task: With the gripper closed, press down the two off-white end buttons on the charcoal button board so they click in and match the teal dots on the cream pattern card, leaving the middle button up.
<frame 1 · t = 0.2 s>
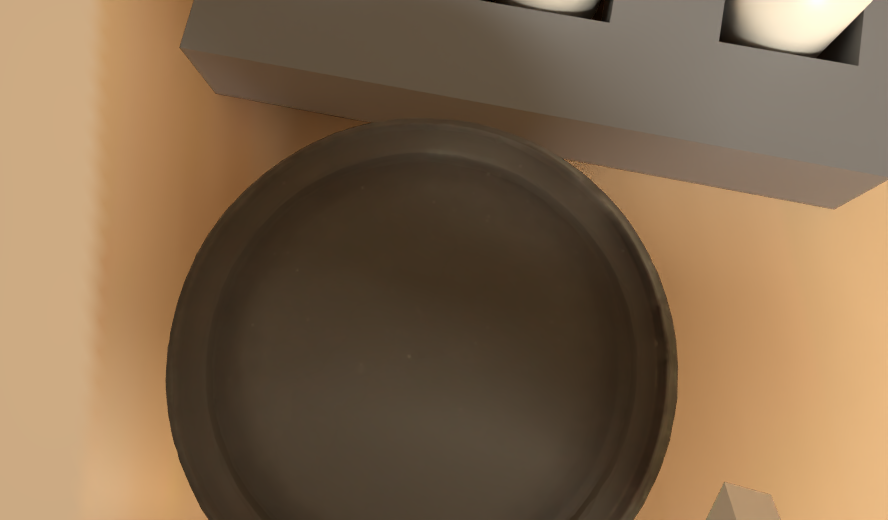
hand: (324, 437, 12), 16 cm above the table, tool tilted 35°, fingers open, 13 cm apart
coffee can: (442, 384, 28), on the table
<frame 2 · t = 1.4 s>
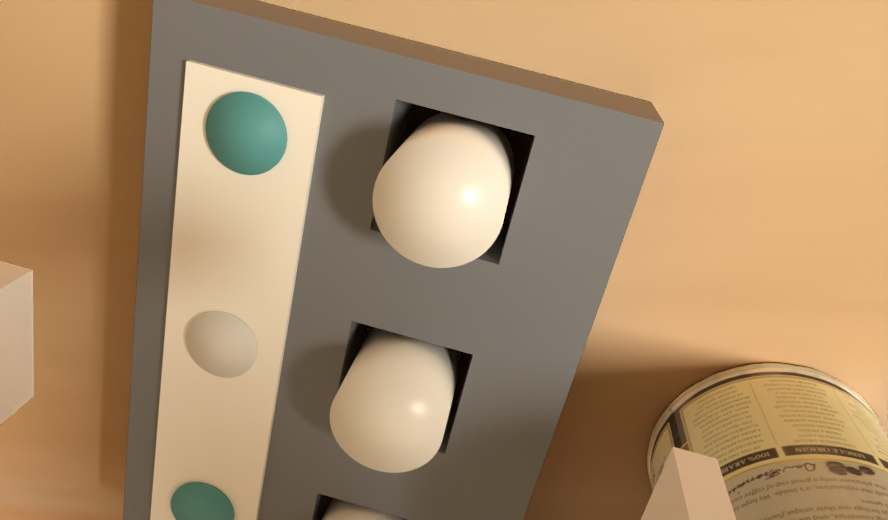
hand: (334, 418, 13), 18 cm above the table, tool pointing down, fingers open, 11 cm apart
coffee can: (761, 455, 33), on the table
middle button: (399, 389, 30), point 4 cm above the table, slide at 0.0 cm
button board: (365, 327, 33), on the table
end button 1: (448, 184, 26), point 4 cm above the table, slide at 0.0 cm
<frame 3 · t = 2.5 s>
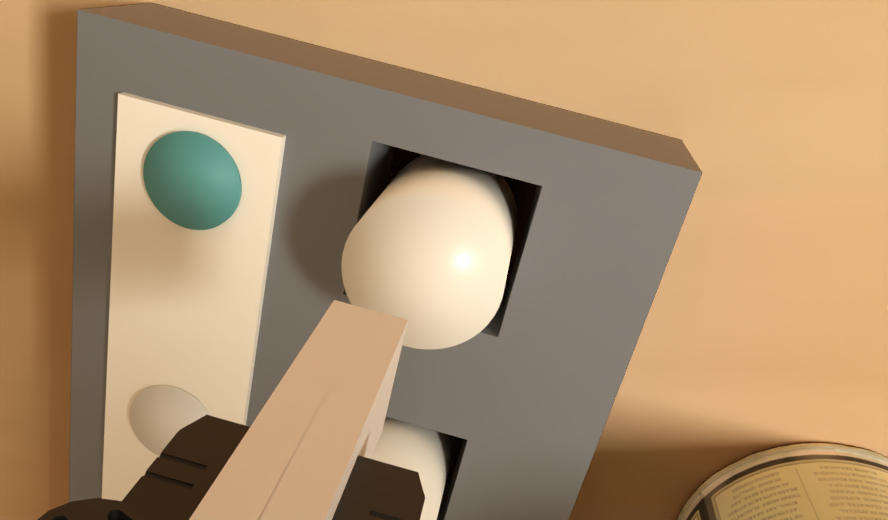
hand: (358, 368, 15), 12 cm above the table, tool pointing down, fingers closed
middle button: (381, 477, 25), point 4 cm above the table, slide at 0.0 cm
button board: (344, 394, 29), on the table
end button 1: (437, 243, 21), point 4 cm above the table, slide at 0.0 cm
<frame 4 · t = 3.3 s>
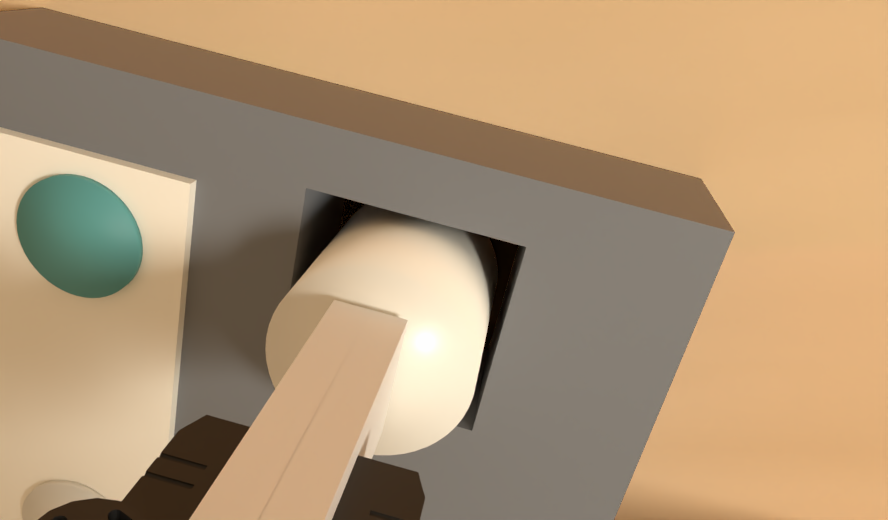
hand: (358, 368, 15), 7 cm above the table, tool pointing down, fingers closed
button board: (295, 473, 24), on the table
end button 1: (395, 311, 17), point 4 cm above the table, slide at 0.2 cm, touching gripper
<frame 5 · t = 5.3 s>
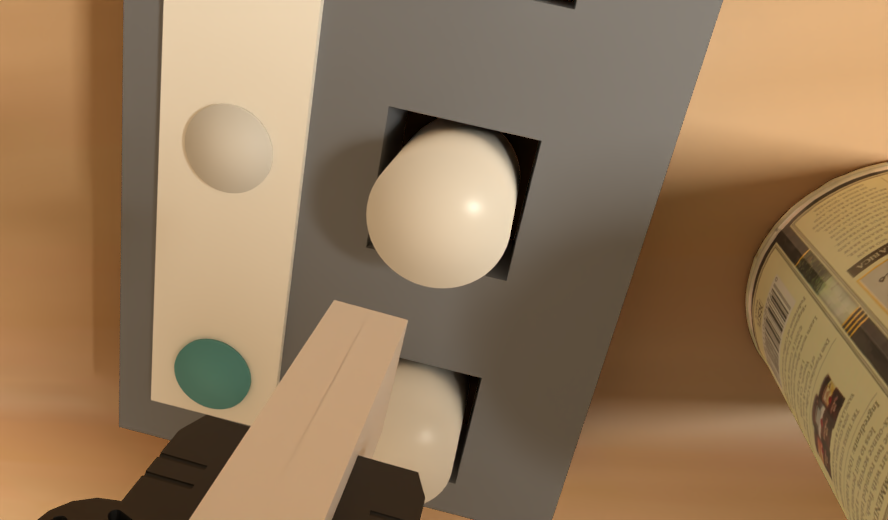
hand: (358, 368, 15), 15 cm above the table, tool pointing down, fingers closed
coffee can: (886, 287, 27), on the table
middle button: (449, 196, 24), point 4 cm above the table, slide at 0.0 cm
button board: (401, 150, 28), on the table
end button 2: (404, 416, 28), point 4 cm above the table, slide at 0.0 cm
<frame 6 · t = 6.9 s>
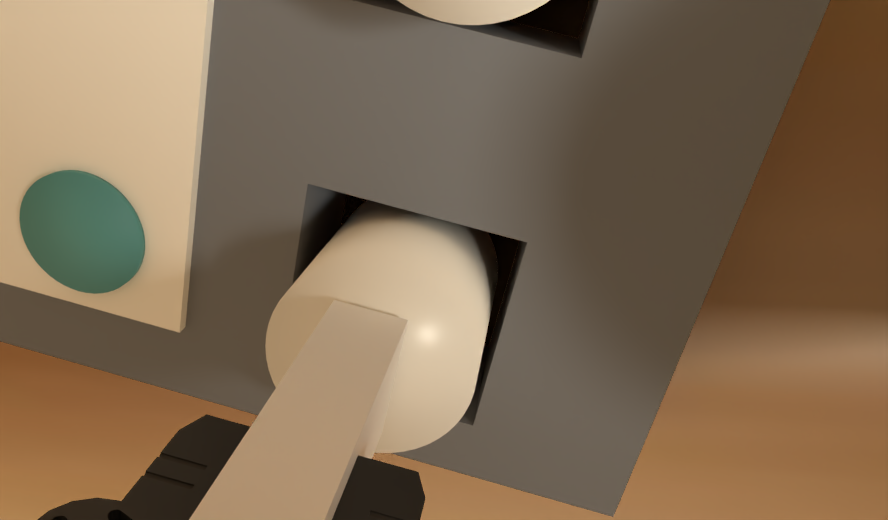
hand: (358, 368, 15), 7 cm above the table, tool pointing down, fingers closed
end button 2: (395, 309, 17), point 4 cm above the table, slide at 0.1 cm, touching gripper
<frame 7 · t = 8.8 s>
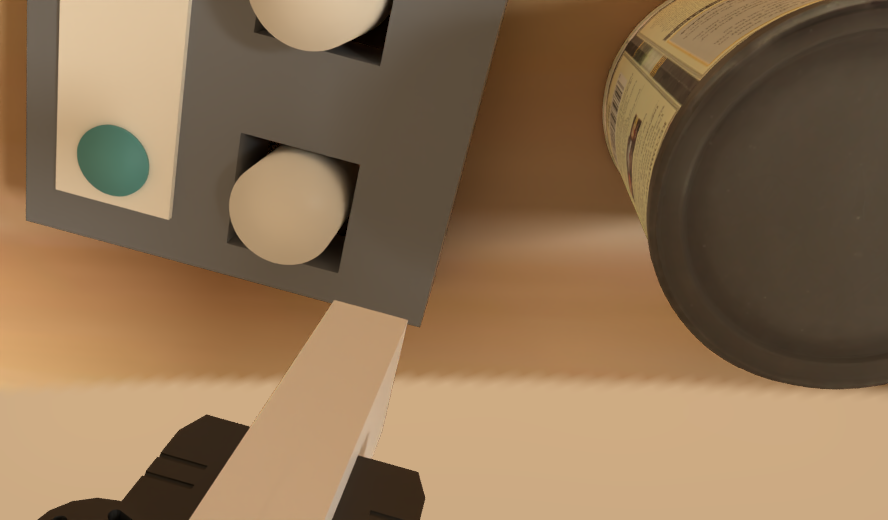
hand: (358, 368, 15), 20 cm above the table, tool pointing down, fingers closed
coffee can: (724, 102, 31), on the table
end button 2: (300, 195, 32), point 3 cm above the table, slide at 1.3 cm
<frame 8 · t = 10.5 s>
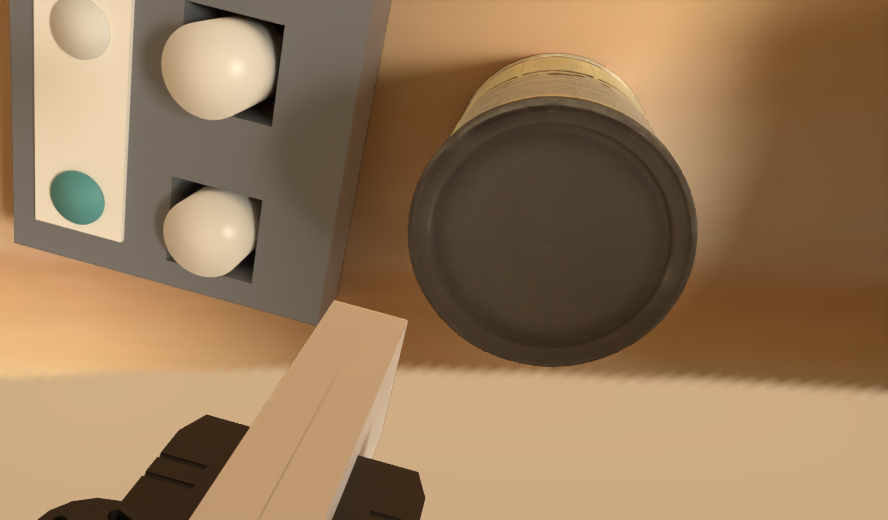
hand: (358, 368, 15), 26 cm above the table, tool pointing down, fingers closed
coffee can: (551, 148, 39), on the table
middle button: (229, 64, 36), point 4 cm above the table, slide at 0.0 cm
button board: (216, 43, 39), on the table
end button 2: (223, 223, 40), point 3 cm above the table, slide at 1.3 cm
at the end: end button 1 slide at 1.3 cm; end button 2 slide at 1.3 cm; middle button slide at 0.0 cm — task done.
